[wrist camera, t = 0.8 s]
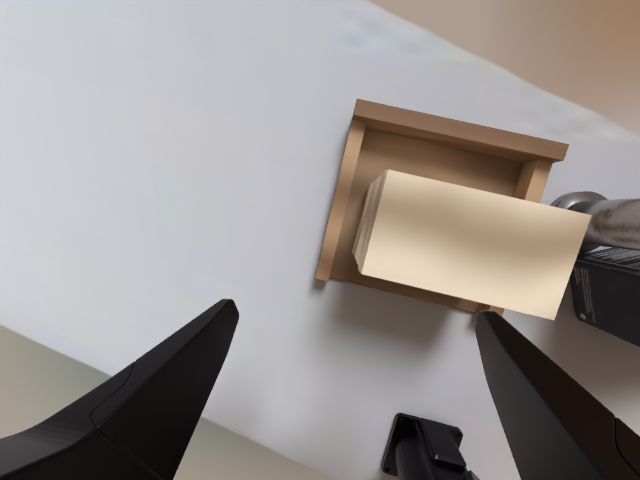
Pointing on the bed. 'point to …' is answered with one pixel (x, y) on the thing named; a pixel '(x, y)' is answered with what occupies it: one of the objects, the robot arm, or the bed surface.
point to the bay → (429, 162)
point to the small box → (609, 291)
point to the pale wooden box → (468, 243)
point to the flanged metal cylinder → (605, 220)
